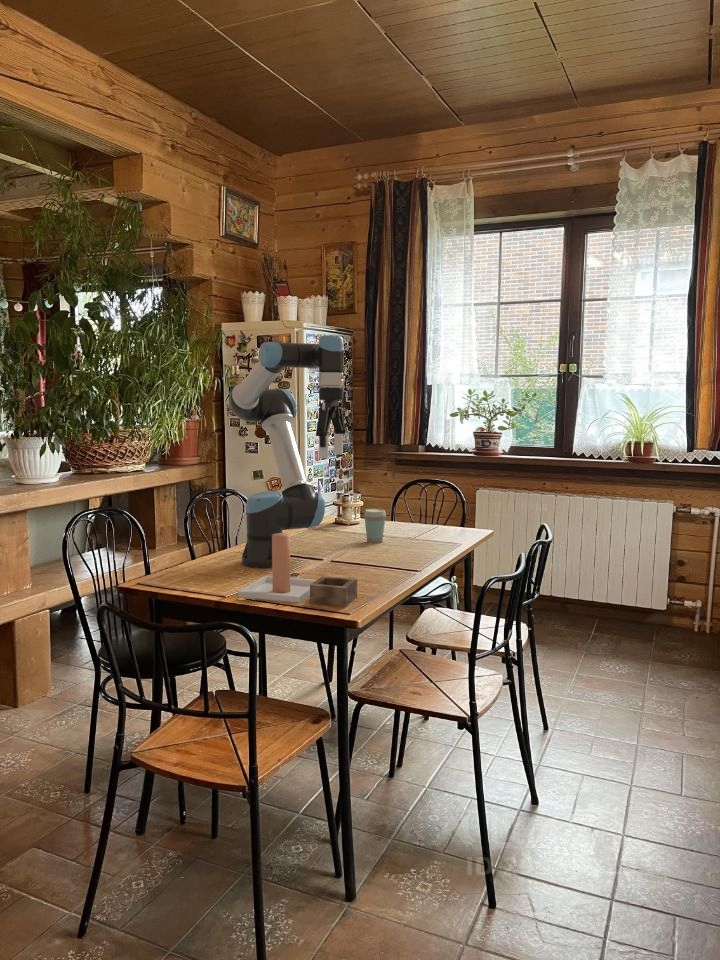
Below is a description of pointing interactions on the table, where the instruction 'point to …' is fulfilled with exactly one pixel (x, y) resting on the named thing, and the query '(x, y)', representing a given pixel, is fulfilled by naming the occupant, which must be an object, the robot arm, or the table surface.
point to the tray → (264, 591)
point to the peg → (281, 563)
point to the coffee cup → (374, 525)
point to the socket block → (333, 591)
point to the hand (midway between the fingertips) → (331, 456)
